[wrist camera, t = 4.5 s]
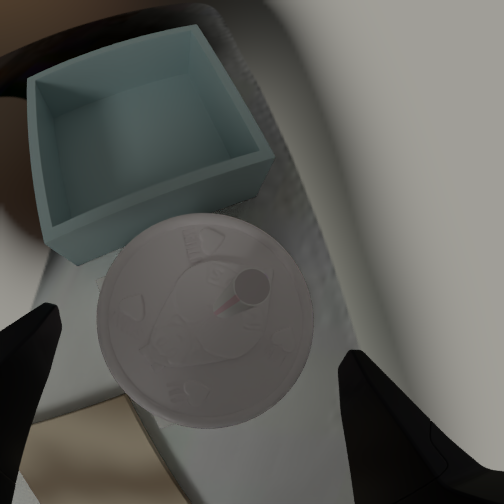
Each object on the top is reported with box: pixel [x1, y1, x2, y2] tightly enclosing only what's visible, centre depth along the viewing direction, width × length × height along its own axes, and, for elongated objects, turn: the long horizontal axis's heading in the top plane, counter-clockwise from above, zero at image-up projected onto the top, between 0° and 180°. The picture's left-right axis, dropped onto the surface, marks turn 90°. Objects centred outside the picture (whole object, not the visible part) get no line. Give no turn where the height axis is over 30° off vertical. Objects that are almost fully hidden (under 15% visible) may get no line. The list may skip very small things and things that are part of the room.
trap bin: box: [27, 24, 275, 266], centre depth 17 cm, size 12×12×5 cm
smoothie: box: [97, 213, 314, 429], centre depth 11 cm, size 6×6×14 cm
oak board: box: [19, 393, 192, 504], centre depth 13 cm, size 10×10×1 cm
